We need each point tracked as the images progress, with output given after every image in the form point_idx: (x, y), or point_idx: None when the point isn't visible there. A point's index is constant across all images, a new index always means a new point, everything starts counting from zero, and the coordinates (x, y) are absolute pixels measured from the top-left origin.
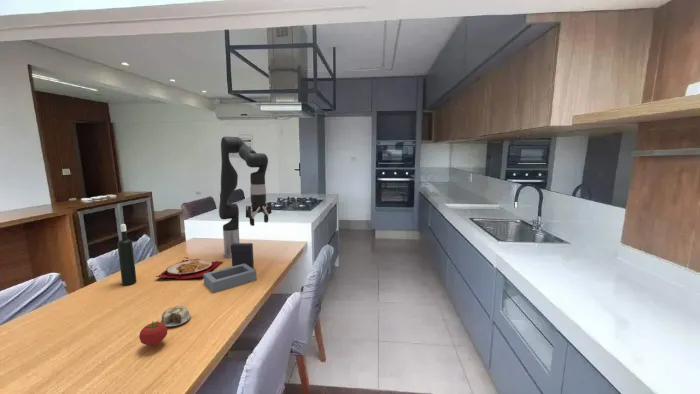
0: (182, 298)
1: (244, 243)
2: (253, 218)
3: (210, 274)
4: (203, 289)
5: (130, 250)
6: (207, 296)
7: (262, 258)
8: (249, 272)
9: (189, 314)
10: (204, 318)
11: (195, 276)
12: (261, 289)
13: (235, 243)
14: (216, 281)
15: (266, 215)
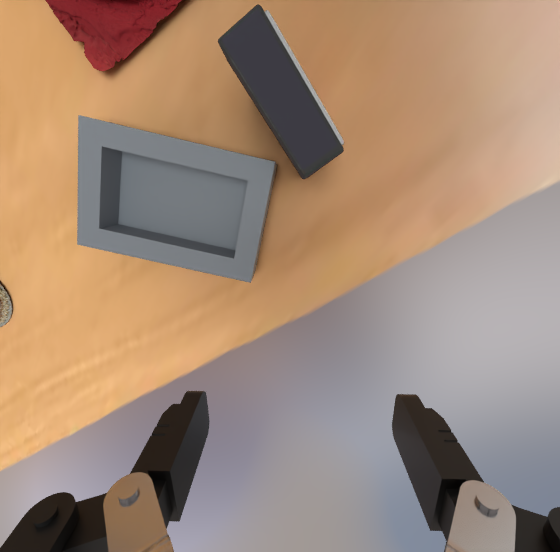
0: (13, 188)
1: (305, 101)
2: (176, 509)
3: (99, 154)
4: None
5: None
6: None
7: (450, 67)
8: (223, 276)
9: (8, 309)
10: (38, 349)
11: (91, 25)
12: (222, 339)
13: (263, 32)
14: (92, 246)
15: (441, 525)
